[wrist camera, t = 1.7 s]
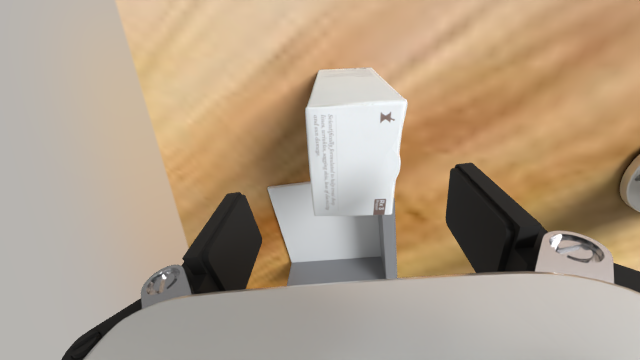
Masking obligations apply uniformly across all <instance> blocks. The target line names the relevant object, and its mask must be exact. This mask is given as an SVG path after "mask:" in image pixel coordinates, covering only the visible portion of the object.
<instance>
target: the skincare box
mask: <svg viewBox="0 0 640 360" xmlns="http://www.w3.org/2000/svg"><path fill="white" fill-rule="evenodd" d="M406 109H407V100H406V99H404V98H403V97H402V96H401V95H400V94H399V93H398V92H396V91H395V90H394V89H393V88H392V87H391V86H390V85H389V84H388V83H387V82H386V81H385V80H384V79H383V78H382V77H380V76H379V75H378V74H377V73H376V72H375V71H374V70H373V69H372V68H347V69H327V70H319V71H318V74H317V77H316V80H315V83H314V86H313V90H312V93H311V96H310V99H309V102H308V105H307V107H306V108H305V115H306V132H307V147H308V159H309V171H310V180H311V192H312V202H313V210H314V215H315V216H359V215H391V214H392V209H393V200H394V190H395V182H396V178H397V176H398V174H399V170H400V164H401V160H400V156H399V150H400V142H401V134H402V128H403V123H404V119H405V114H406Z"/></svg>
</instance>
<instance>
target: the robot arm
mask: <svg viewBox="0 0 640 360" xmlns="http://www.w3.org/2000/svg"><path fill="white" fill-rule="evenodd" d="M620 194H621V198H622V200H623V201H624V202H625V203H626V204H627V205H628V206H630V207H631V208H633V209H635V210H637V211H638V212H640V154H639V155H638V156H637V157H636V158H635V159H634V160H633V161H632V163H631V164H630V165H629V167H628V168H627V170H626V171H625V173H624V175H623V177H622V180H621V184H620ZM446 223H447V226H448V227H449V229H450V231H451V232H452V234H453V236H454V237H455V239H456V240H457V242H458V244H459V245H460V247H461V249H462V250H463V252H464V254H465V255H466V257H467V258H468V260H469V262H470V263H471V265H472V267H473V268H474V270H475V272H476V273H470V274H451V275H436V276H421V277H406V278H391V279H377V280H362V281H348V282H334V283H321V284H307V285H294V286H281V287H268V288H255V289H246V286H247V283H248V280H249V278H250V275H251V272H252V269H253V266H254V263H255V261H256V258H257V255H258V252H259V249H260V247H261V244H262V237H261V234H260V232H259V229H258V226H257V224H256V221H255V219H254V216H253V214H252V211H251V209H250V206H249V204H248V201H247V199H246V196H245V195H242V194H241V193H240V192H237V193H229V194H227V195H226V196H225V198H224V199H223V200H222V202H221V203H220V205H219V206H218V208H217V209H216V211H215V212H214V213H213V215H212V216H211V218H210V219H209V221H208V222H207V223H206V225H205V226H204V228H203V229H202V231H201V232H200V234H199V235H198V236H197V238H196V239H195V241H194V242H193V244H192V245H191V247H190V248H189V249H188V251H187V252H186V254H185V255H184V257H183V260H184V263H183V264H182V266H180V265H171V266H167V267H165V268H163V269H161V270H159V271H158V272H156V273H155V274H153V275H152V276H151V277H150V278H149V279H148V280H147V281H146V283H145V284H144V286H143V287H142V291H141V299H139V300H137V301H136V302H134V303H133V304H131V305H129V306H128V307H126V308H125V309H123V310H121V311H120V312H118V313H117V314H115V315H114V316H112V317H110V318H109V319H107V320H106V321H104V322H102V323H101V324H99V325H97V326H96V327H94V328H93V329H91V330H89V331H88V332H87V333H85V334H84V335H82V336H81V337H80V338H78V339H77V340H76V341H75V342H74V343H73V344H72V346H71V347H70V348H69V349H68V350H67V351H66V353H65V355H64V356H63V358H62V360H640V272H639V271H636V270H633V269H630V268H627V267H624V266H621V265H618V264H615V263H613V257H612V254H611V252H610V251H609V250H608V249H607V248H606V247H605V246H604V245H602V244H601V243H599V242H598V241H596V240H594V239H592V238H590V237H588V236H585V235H582V234H579V233H574V232H569V231H552V232H549V233H548V232H547V231H546V230H545V229H544V228H543V227H542V225H541V224H540V223H539V222H538V221H537V220H536V219H534V218H533V217H532V216H531V215H530V214H529V213H528V212H527V211H525V210H524V209H523V208H522V207H521V206H520V205H519V204H518V203H516V202H515V201H514V200H513V199H512V198H511V197H510V196H509V195H508V194H506V193H505V192H504V191H503V190H502V189H501V188H500V187H499V186H497V185H496V184H495V183H494V182H493V181H492V180H491V179H490V178H489V177H487V176H486V175H485V174H484V173H483V172H482V171H481V170H480V169H478V168H477V167H476V166H475V165H474V164H473V163H464V164H457V165H455V168H452V169H451V171H450V180H449V190H448V200H447V209H446Z"/></svg>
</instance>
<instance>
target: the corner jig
mask: <svg viewBox="0 0 640 360" xmlns="http://www.w3.org/2000/svg"><path fill="white" fill-rule="evenodd" d="M267 189H268V192H269V195H270V198H271V201H272V204H273V207H274V210H275V213H276V216H277V219H278V223H279V226H280V229H281V232H282V235H283V238H284V241H285V244H286V247H287V250H288V253H289V256H290V259H291V262H292V264H291V268H290V273H289V278H288V282H287V286H294V285H307V284H321V283H334V282H348V281H362V280H377V279H391V278H397V259H396V227H395V198H394V200H393V209H392V214H391V215H359V216H315V215H314V210H313V202H312V192H311V181H310V182H302V183H293V184H285V185H277V186H268V188H267Z"/></svg>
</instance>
